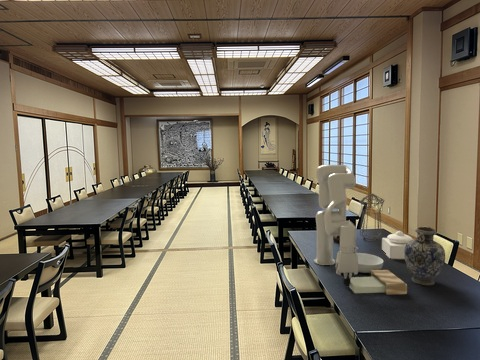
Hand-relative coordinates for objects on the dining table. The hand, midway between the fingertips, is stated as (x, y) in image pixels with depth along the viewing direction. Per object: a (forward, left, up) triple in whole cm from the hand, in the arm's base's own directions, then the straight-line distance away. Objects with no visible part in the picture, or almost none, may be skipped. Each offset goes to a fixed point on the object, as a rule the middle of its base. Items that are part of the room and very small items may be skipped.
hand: (346, 285), depth 170 cm
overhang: (0, +20, -1) cm, 20 cm away
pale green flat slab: (0, +10, -1) cm, 10 cm away
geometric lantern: (-81, +48, -2) cm, 94 cm away
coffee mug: (-77, +23, -2) cm, 81 cm away
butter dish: (-47, +53, -2) cm, 71 cm away
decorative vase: (-5, +42, -2) cm, 43 cm away
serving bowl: (-23, +18, -2) cm, 29 cm away
